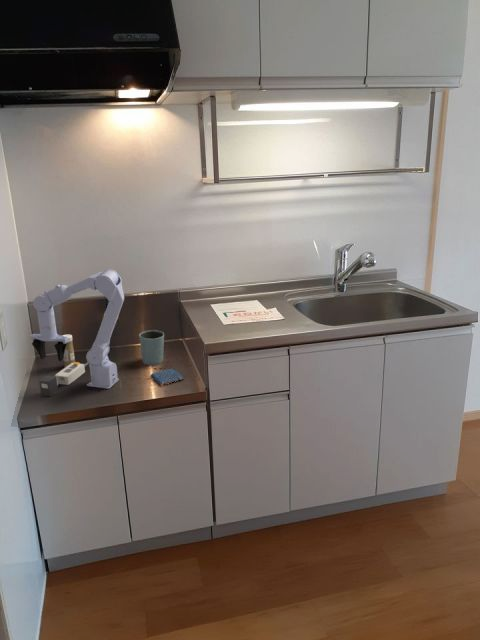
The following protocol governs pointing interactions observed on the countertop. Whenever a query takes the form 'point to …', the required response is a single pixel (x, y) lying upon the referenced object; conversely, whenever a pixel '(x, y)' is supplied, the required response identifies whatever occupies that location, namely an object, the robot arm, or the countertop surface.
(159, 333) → the teal cup
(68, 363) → the sprinkles bottle
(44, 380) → the charger
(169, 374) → the woven mat
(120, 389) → the countertop surface
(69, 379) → the power strip
